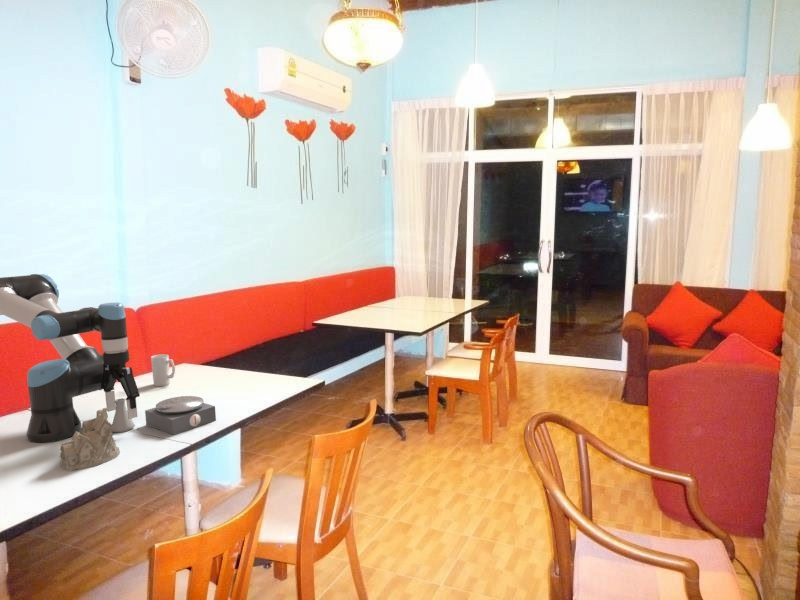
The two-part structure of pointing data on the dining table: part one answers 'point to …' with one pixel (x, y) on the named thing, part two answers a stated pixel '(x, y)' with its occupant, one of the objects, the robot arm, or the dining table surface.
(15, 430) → the dining table surface
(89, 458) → the ceramic cottage
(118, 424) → the flask
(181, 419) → the base
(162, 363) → the mug
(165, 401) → the scale pan
